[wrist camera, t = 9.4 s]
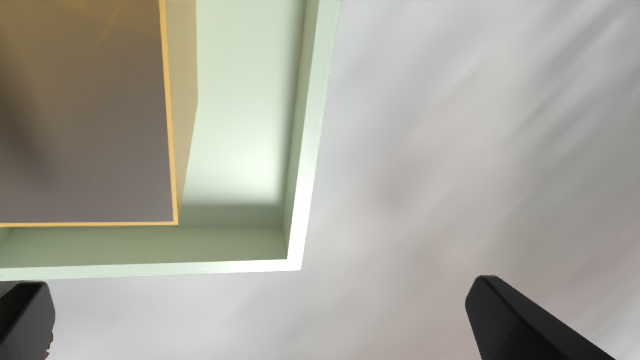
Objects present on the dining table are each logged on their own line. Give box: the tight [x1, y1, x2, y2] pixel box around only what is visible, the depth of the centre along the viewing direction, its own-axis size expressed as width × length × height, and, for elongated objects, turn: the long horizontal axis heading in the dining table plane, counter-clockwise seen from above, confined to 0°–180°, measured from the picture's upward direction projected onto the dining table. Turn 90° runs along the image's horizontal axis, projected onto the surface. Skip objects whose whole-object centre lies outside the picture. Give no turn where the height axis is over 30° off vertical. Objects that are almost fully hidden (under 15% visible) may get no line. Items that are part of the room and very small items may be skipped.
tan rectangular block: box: [0, 0, 198, 227], centre depth 11 cm, size 4×6×8 cm, turn 172°
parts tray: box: [0, 0, 341, 281], centre depth 14 cm, size 13×20×3 cm, turn 172°
